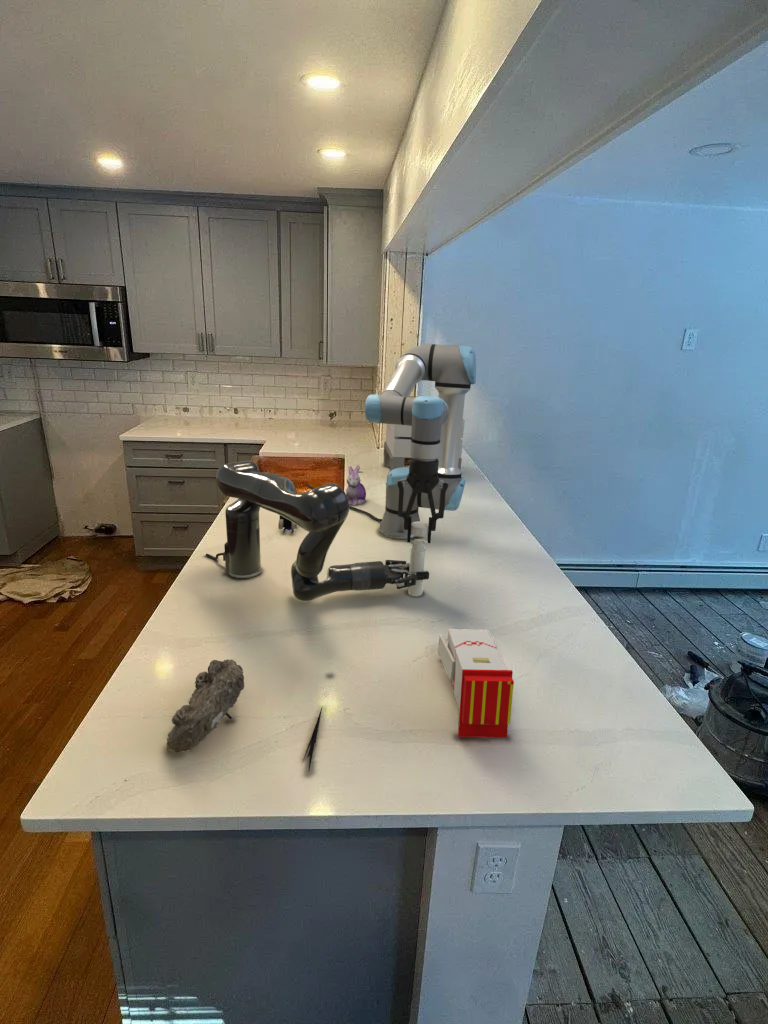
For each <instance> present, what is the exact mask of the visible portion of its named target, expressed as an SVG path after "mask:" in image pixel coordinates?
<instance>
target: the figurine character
mask: <svg viewBox="0 0 768 1024" xmlns="http://www.w3.org/2000/svg"><path fill="white" fill-rule="evenodd" d="M277 527H278V530H282V534H285V533H286V531H290V534H292V535H293V534H294V532H295V530H296V529H297V528H298V526H297V525H296V524H294V523H293V522H291V521H290V520H288V519H286V518H284V517H282V516H280V515H279V519H278V524H277Z"/></svg>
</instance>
